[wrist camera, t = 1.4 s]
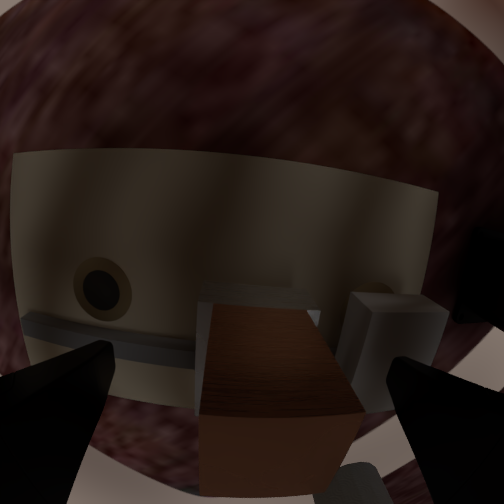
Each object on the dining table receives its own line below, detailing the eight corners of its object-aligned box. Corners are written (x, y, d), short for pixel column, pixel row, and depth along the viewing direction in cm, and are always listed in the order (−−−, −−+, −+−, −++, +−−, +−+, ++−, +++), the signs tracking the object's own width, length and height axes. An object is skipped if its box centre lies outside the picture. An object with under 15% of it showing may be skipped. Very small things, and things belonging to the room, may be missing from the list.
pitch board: (422, 190, 14) (487, 197, 9) (372, 392, 17) (405, 442, 12) (29, 154, 12) (-32, 150, 7) (43, 361, 15) (5, 404, 10)
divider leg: (299, 280, 13) (388, 408, 5) (282, 375, 14) (321, 519, 6) (206, 272, 12) (168, 410, 4) (200, 370, 13) (183, 521, 5)
